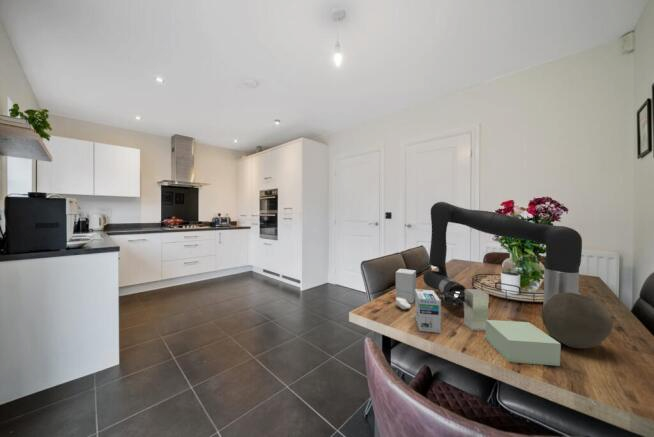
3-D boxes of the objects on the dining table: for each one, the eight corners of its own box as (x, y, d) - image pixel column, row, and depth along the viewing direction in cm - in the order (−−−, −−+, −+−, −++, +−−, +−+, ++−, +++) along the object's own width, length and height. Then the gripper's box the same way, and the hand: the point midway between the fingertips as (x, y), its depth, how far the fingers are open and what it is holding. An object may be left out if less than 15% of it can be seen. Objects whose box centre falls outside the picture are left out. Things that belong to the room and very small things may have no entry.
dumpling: (392, 305, 102) (392, 296, 101) (404, 304, 103) (404, 295, 103) (402, 312, 95) (402, 302, 95) (414, 311, 96) (414, 301, 96)
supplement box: (416, 298, 110) (416, 270, 109) (412, 303, 104) (412, 274, 103) (399, 295, 114) (400, 268, 113) (394, 300, 108) (395, 271, 107)
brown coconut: (596, 365, 63) (598, 307, 62) (531, 338, 76) (533, 290, 75) (620, 352, 68) (623, 299, 68) (556, 329, 81) (558, 284, 81)
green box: (528, 341, 75) (528, 322, 74) (559, 366, 63) (560, 343, 62) (485, 338, 76) (485, 319, 76) (508, 362, 64) (508, 340, 64)
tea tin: (478, 323, 86) (479, 289, 85) (487, 330, 81) (488, 294, 80) (464, 323, 86) (464, 289, 86) (472, 330, 81) (473, 294, 81)
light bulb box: (441, 333, 79) (441, 300, 78) (419, 331, 80) (419, 298, 80) (433, 319, 89) (434, 289, 89) (414, 317, 91) (414, 288, 90)
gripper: (434, 280, 100) (454, 294, 83) (470, 281, 99) (497, 295, 83) (434, 299, 100) (454, 316, 84) (470, 299, 100) (496, 316, 83)
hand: (475, 305), depth 83 cm, fingers open, 8 cm apart
